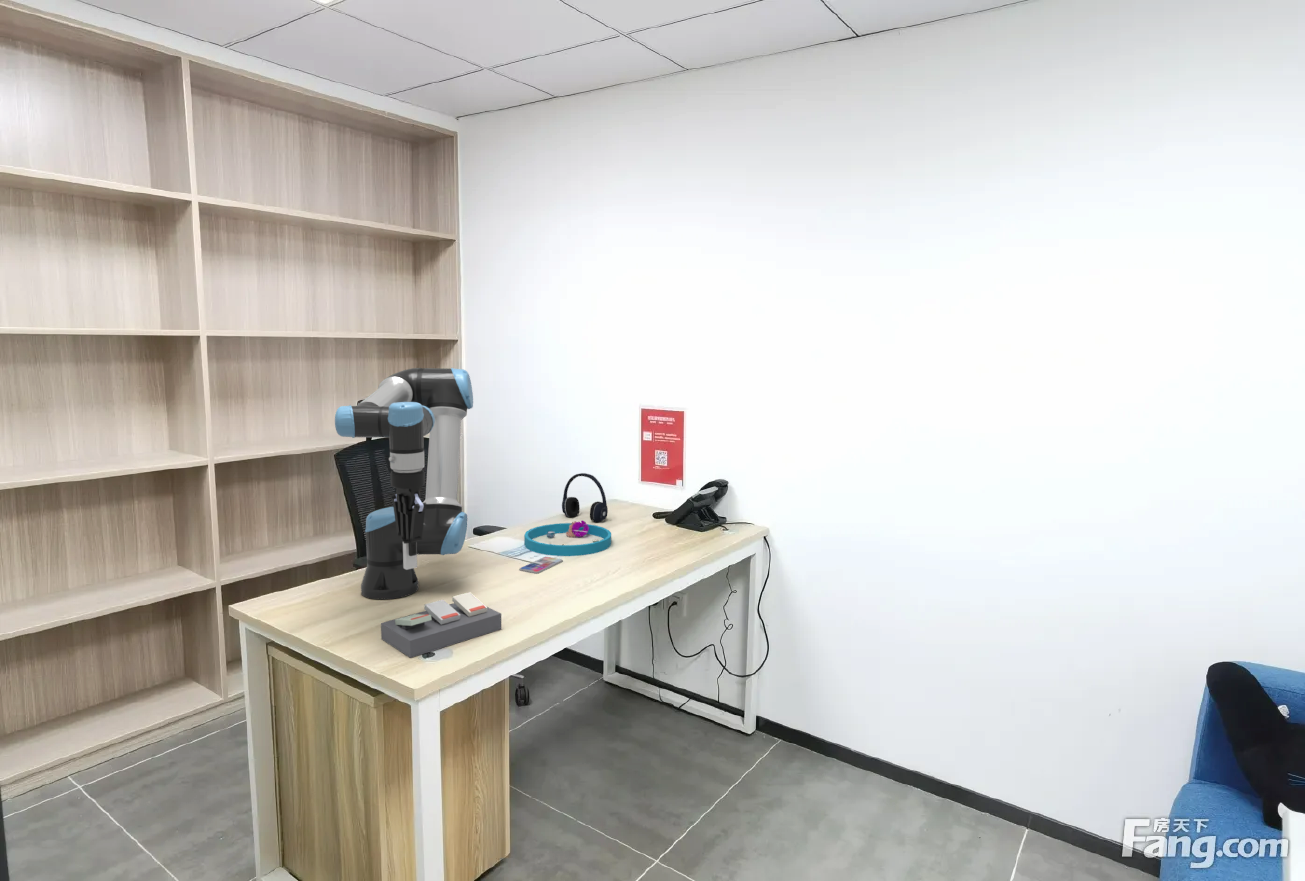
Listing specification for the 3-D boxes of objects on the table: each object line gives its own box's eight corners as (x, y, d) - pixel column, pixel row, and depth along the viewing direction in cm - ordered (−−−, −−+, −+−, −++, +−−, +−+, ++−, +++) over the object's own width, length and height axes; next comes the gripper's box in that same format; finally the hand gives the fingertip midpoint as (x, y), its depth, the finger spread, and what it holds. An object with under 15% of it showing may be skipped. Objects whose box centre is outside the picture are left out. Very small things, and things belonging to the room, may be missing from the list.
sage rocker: (395, 624, 172) (394, 618, 172) (415, 619, 176) (414, 613, 176) (411, 625, 167) (410, 619, 167) (431, 619, 170) (430, 613, 170)
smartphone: (564, 559, 237) (537, 572, 223) (564, 562, 237) (537, 575, 223) (545, 555, 240) (517, 568, 226) (545, 558, 240) (517, 571, 227)
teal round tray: (619, 536, 269) (619, 520, 268) (599, 560, 240) (599, 542, 239) (540, 531, 274) (540, 515, 273) (511, 553, 245) (511, 536, 244)
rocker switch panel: (371, 633, 177) (371, 614, 177) (460, 608, 194) (459, 591, 194) (410, 657, 164) (409, 637, 164) (501, 629, 181) (501, 610, 181)
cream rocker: (451, 600, 183) (452, 596, 183) (469, 596, 187) (470, 591, 186) (469, 616, 178) (469, 611, 178) (486, 611, 181) (487, 606, 181)
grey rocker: (424, 608, 178) (424, 603, 177) (442, 603, 181) (443, 598, 181) (441, 624, 173) (441, 619, 172) (460, 619, 176) (460, 614, 176)
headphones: (559, 517, 294) (559, 472, 291) (570, 513, 300) (570, 469, 297) (599, 525, 283) (599, 478, 281) (609, 521, 289) (610, 475, 286)
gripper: (379, 467, 172) (382, 564, 176) (405, 476, 163) (408, 578, 167) (409, 463, 177) (412, 558, 181) (436, 471, 168) (438, 571, 172)
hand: (410, 567), depth 174 cm, fingers closed
